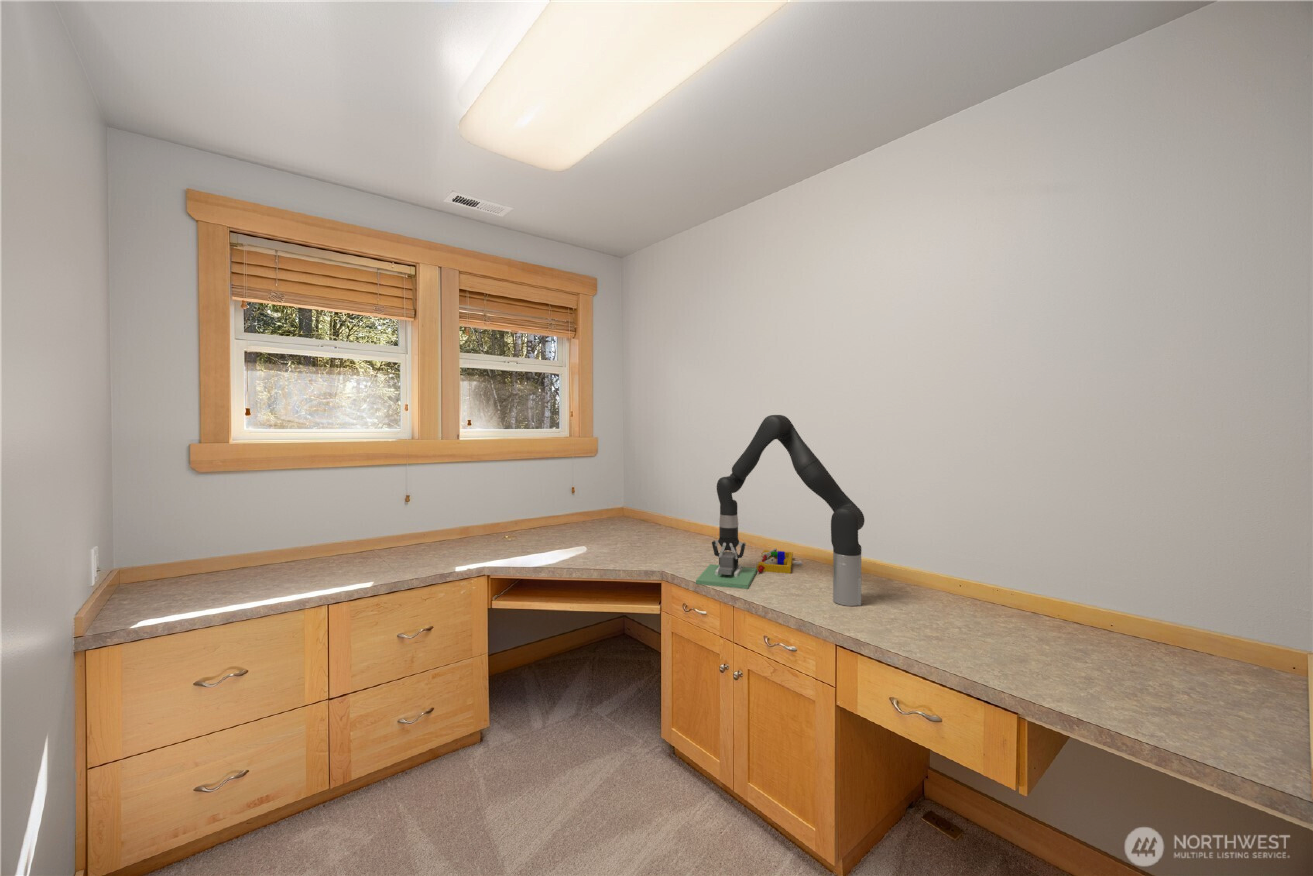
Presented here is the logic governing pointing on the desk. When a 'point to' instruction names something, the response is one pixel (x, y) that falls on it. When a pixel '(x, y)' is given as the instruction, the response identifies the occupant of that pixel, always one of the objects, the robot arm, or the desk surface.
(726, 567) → the grey stepped block
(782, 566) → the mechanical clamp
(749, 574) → the green plate with u-rail
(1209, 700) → the desk surface
